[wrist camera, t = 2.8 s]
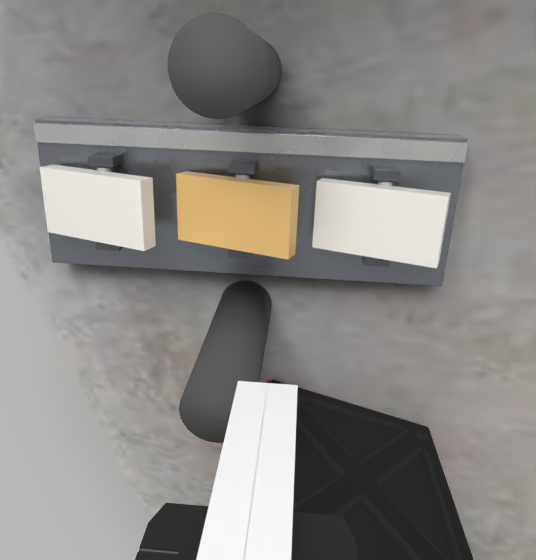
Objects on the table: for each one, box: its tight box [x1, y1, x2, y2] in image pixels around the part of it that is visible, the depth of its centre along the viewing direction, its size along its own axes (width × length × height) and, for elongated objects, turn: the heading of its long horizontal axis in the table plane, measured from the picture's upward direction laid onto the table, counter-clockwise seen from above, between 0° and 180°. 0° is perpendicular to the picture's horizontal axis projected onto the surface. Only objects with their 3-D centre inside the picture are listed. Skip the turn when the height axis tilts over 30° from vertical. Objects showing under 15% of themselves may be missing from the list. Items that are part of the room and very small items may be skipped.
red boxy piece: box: [267, 380, 473, 560], centre depth 36 cm, size 16×10×20 cm, turn 73°
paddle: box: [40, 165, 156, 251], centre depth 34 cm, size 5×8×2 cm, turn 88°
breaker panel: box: [33, 117, 468, 286], centre depth 35 cm, size 10×28×4 cm, turn 88°
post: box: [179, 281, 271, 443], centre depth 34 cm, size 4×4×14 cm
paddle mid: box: [176, 171, 299, 260], centre depth 33 cm, size 5×8×2 cm, turn 88°
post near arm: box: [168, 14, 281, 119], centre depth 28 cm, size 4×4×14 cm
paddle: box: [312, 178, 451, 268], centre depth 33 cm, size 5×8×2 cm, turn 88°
